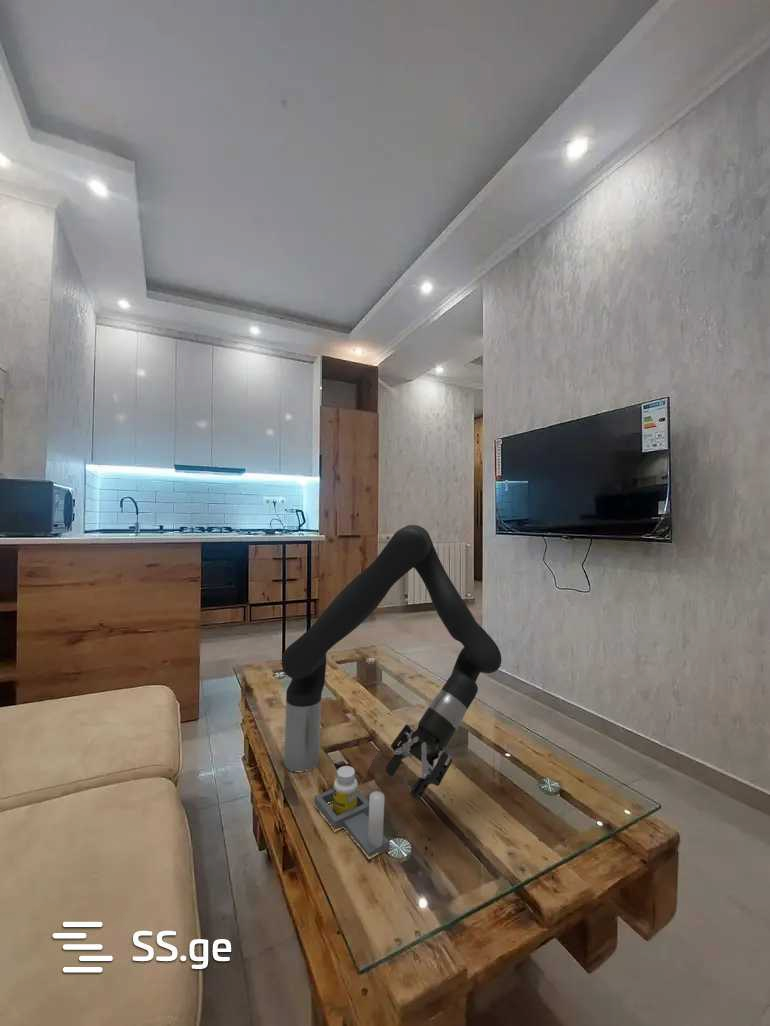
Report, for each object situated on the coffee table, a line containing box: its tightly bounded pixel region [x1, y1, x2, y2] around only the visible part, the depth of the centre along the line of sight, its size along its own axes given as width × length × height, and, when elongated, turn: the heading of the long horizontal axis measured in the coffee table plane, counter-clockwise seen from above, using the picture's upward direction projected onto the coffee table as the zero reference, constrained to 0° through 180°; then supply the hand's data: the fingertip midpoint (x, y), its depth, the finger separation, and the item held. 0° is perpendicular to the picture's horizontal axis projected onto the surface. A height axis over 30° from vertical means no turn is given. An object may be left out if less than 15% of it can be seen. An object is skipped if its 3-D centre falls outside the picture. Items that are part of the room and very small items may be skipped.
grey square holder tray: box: [313, 787, 391, 857], centre depth 93 cm, size 19×9×11 cm, turn 36°
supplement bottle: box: [332, 765, 359, 816], centre depth 97 cm, size 5×5×10 cm
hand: (400, 785), depth 90 cm, fingers open, 8 cm apart
